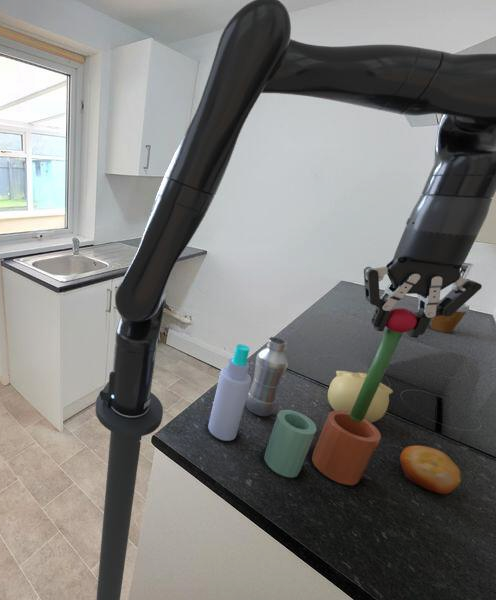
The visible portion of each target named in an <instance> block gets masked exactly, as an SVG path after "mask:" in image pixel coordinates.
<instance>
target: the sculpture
mask: <svg viewBox="0 0 496 600" xmlns="http://www.w3.org/2000/svg"><path fill="white" fill-rule="evenodd" d="M335 374H336V376H335V377H334V378H332V381H331V382H330V383H329V387H328V390H327V401H328V403H329V405H330V407H331V408H332V409H333V411H345V412H349V413H351V411H352V408H353V406H354V404H355V401H356V399H357V397H358V395H359V392H360V390H361V388H362V385H363V383H364V381H365V378H366V376H367V374H368V373H365V372H351V371H347V370H336V371H335ZM393 392H394V391H393V389H391V388H390V387H389V386H387V385H386V384H384V383H382V382H380V384H379V386H378V389H377V391H376V393H375V395H374V397H373V400H372V402H371V404H370V406H369V408H368V410H367V413H366V415H365V417H364V419H365V420H367V421H368V422H370V423H371V424H373V423H376V422H377V421H379V420H381V419H382V418H383V417H384V416H385V414H386V413H387V410H388V408H389V403H390V395H391V394H393Z"/></svg>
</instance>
